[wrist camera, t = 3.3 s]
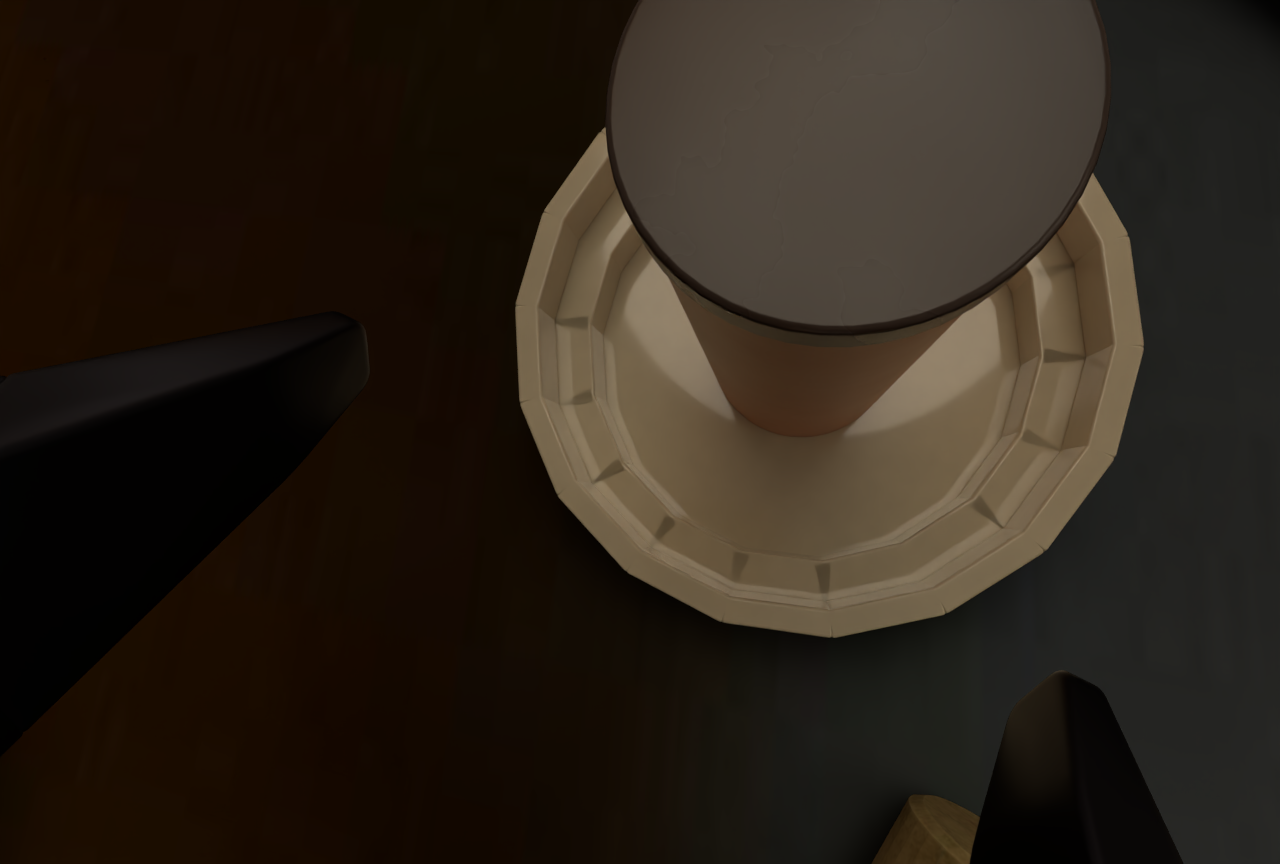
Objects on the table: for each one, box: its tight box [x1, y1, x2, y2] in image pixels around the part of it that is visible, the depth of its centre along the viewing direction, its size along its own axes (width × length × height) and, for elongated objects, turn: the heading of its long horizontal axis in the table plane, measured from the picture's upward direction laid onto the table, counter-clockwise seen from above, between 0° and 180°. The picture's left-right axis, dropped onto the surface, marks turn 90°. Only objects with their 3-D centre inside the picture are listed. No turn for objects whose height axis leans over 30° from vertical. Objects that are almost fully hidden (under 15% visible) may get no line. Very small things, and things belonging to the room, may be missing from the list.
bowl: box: [515, 128, 1144, 638], centre depth 18 cm, size 14×14×4 cm
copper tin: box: [605, 0, 1111, 437], centre depth 13 cm, size 5×5×12 cm
